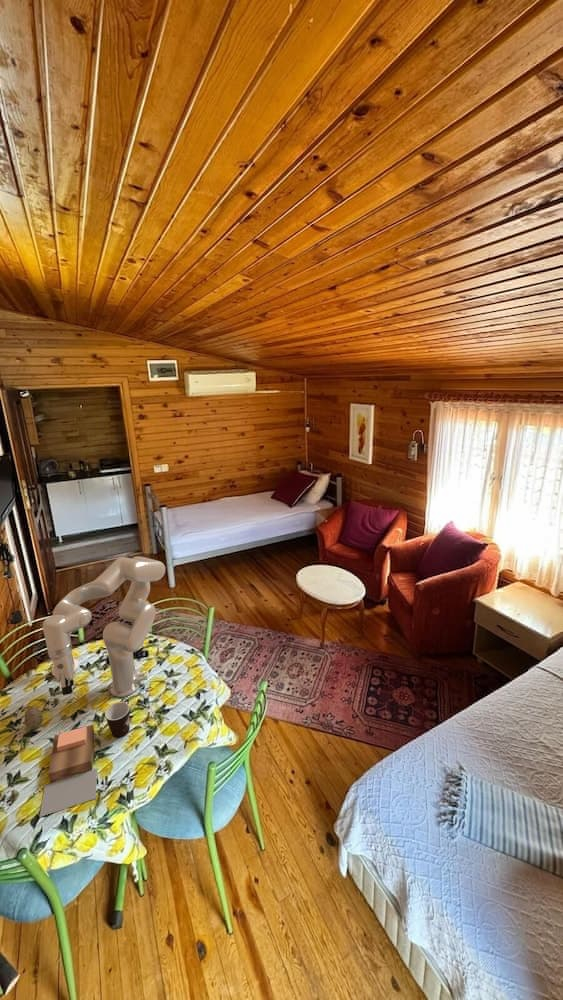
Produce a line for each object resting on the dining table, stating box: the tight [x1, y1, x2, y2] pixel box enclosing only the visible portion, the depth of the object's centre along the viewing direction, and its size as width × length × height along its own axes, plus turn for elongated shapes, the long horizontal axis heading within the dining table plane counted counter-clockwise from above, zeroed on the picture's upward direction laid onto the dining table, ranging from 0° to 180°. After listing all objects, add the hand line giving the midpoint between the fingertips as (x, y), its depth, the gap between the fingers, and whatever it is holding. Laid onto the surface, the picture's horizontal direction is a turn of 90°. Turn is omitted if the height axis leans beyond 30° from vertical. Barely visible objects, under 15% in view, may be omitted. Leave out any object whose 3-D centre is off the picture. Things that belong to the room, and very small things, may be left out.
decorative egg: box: [24, 705, 44, 731], centre depth 156 cm, size 6×6×10 cm
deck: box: [47, 724, 96, 784], centre depth 145 cm, size 13×16×4 cm
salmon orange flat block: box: [57, 726, 87, 752], centre depth 147 cm, size 9×6×2 cm, turn 111°
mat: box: [39, 768, 98, 818], centre depth 133 cm, size 16×11×1 cm
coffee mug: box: [104, 698, 131, 739], centre depth 156 cm, size 12×9×10 cm
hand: (68, 689), depth 151 cm, fingers open, 3 cm apart
